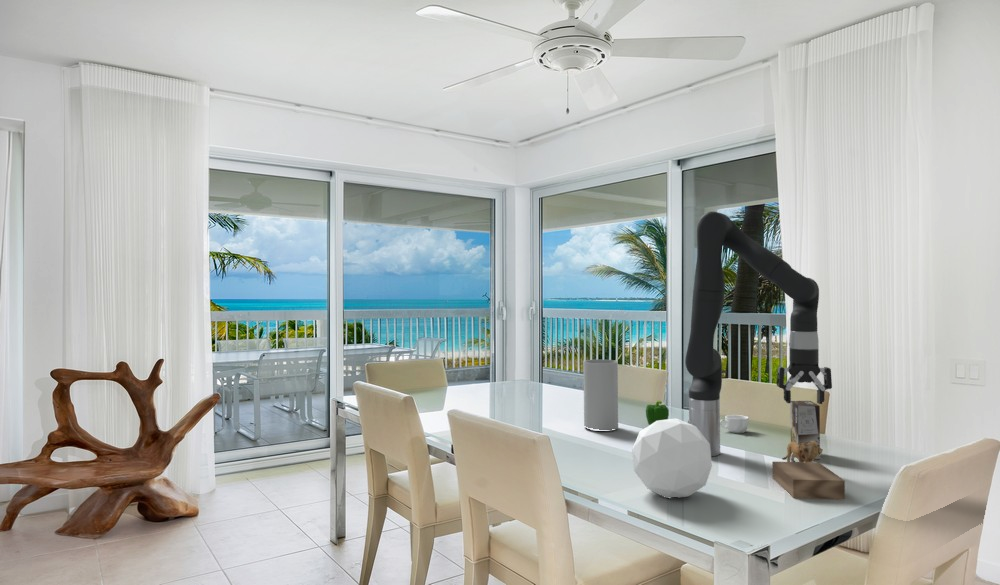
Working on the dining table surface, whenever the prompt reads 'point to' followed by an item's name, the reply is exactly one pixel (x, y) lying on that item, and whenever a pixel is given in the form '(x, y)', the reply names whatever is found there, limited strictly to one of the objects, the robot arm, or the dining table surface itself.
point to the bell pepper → (656, 412)
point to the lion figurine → (803, 451)
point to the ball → (672, 458)
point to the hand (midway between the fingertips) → (804, 403)
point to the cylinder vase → (601, 394)
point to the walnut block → (808, 480)
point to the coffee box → (805, 422)
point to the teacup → (736, 423)
